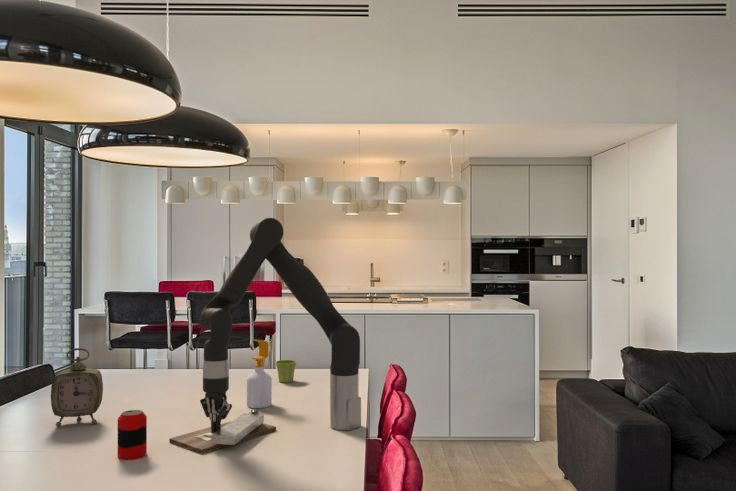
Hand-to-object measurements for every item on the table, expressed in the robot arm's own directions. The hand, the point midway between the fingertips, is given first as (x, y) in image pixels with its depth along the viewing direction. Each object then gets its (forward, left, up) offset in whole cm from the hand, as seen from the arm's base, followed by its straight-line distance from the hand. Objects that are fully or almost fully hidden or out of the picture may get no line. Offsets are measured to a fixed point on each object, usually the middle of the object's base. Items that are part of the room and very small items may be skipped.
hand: (215, 432), depth 177 cm
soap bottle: (+23, -37, -3) cm, 44 cm away
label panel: (+3, -6, -3) cm, 7 cm away
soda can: (+9, +21, -3) cm, 23 cm away
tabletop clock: (+52, +16, -3) cm, 55 cm away
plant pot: (+45, -71, -3) cm, 84 cm away
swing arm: (-2, -8, -1) cm, 8 cm away
